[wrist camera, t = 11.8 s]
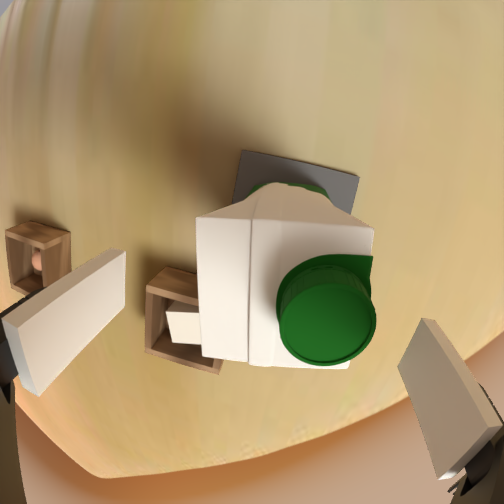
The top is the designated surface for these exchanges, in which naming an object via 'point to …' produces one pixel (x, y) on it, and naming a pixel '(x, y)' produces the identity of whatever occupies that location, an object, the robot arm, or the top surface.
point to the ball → (37, 260)
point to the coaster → (293, 178)
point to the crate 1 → (23, 247)
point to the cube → (184, 323)
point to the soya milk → (284, 280)
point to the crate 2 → (156, 324)
